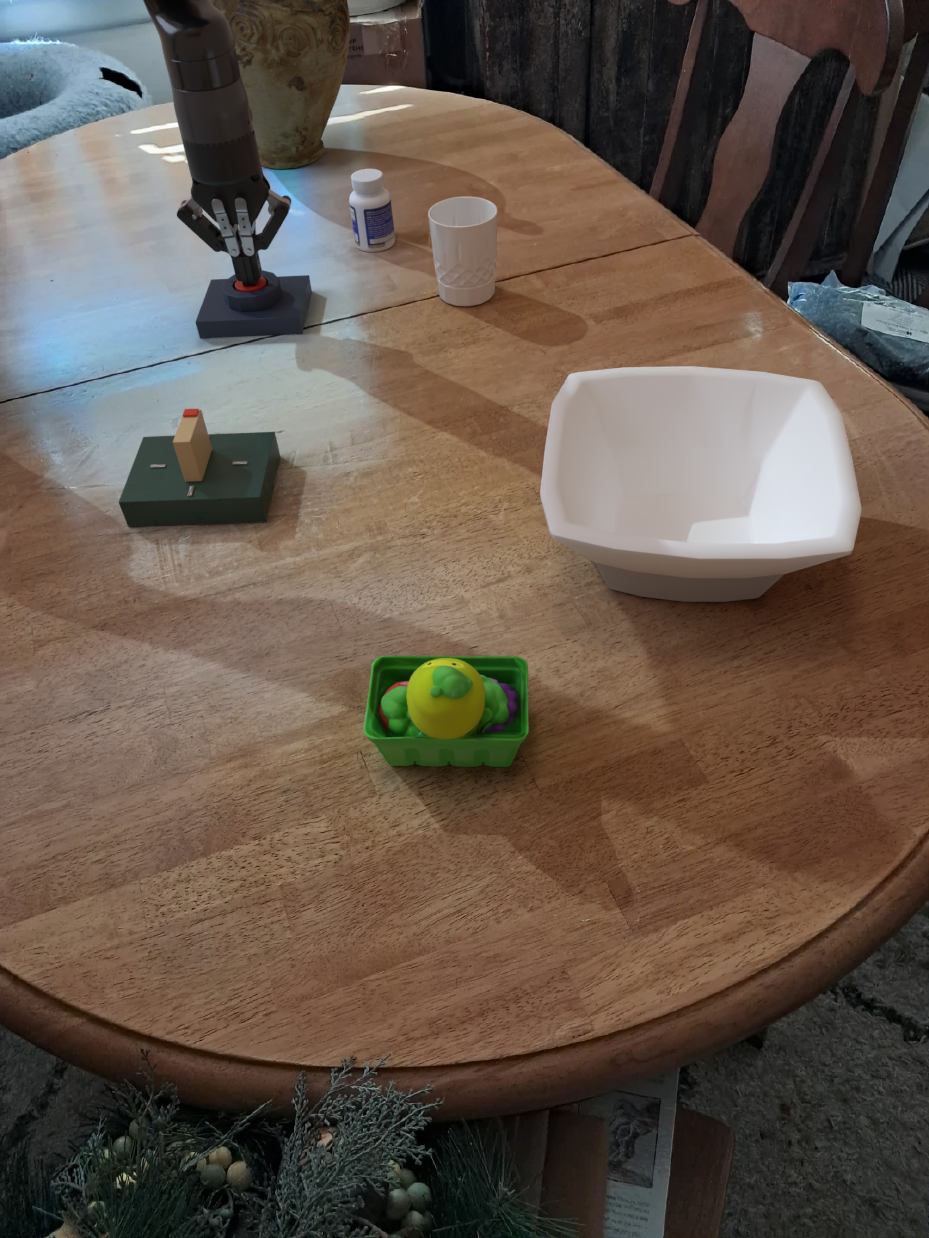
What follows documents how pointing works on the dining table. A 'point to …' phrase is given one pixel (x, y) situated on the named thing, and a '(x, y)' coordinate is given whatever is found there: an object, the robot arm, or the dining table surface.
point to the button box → (255, 308)
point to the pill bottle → (371, 211)
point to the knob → (192, 445)
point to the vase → (289, 71)
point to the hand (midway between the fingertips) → (251, 282)
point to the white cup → (464, 249)
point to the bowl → (698, 479)
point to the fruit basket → (448, 709)
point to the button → (248, 289)
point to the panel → (202, 482)
